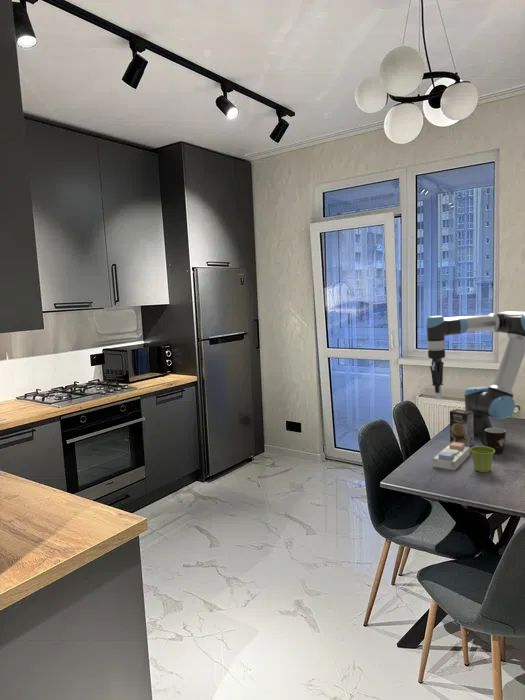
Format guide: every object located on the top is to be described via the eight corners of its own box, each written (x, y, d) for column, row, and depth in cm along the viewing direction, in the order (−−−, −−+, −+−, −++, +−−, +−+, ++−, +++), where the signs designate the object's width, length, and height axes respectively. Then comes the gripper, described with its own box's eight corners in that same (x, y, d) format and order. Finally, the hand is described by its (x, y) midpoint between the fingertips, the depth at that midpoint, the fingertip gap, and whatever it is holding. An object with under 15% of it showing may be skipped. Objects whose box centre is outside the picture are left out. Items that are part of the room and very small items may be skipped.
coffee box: (449, 443, 245) (448, 411, 243) (456, 440, 249) (455, 408, 247) (467, 447, 238) (466, 413, 236) (474, 444, 242) (473, 411, 240)
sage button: (448, 455, 225) (447, 448, 225) (459, 456, 222) (459, 450, 222) (444, 458, 221) (444, 451, 221) (456, 460, 218) (455, 453, 218)
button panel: (449, 451, 233) (449, 444, 233) (469, 454, 228) (469, 447, 227) (433, 466, 216) (433, 458, 216) (454, 470, 211) (454, 462, 210)
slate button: (442, 457, 219) (442, 451, 219) (454, 459, 216) (454, 452, 216) (438, 461, 215) (438, 454, 215) (450, 463, 212) (450, 456, 212)
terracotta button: (453, 448, 231) (453, 441, 231) (464, 449, 228) (464, 443, 228) (449, 451, 227) (449, 444, 227) (461, 452, 224) (461, 446, 224)
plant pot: (492, 466, 212) (492, 446, 211) (497, 474, 203) (497, 453, 202) (468, 465, 214) (468, 446, 213) (472, 473, 205) (472, 453, 204)
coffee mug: (502, 448, 233) (501, 427, 232) (509, 454, 225) (509, 432, 224) (475, 449, 234) (475, 428, 233) (481, 455, 226) (481, 433, 225)
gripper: (432, 347, 243) (434, 395, 246) (423, 351, 233) (426, 401, 235) (448, 347, 239) (450, 396, 241) (440, 351, 228) (442, 402, 231)
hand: (438, 398), depth 238 cm, fingers closed
